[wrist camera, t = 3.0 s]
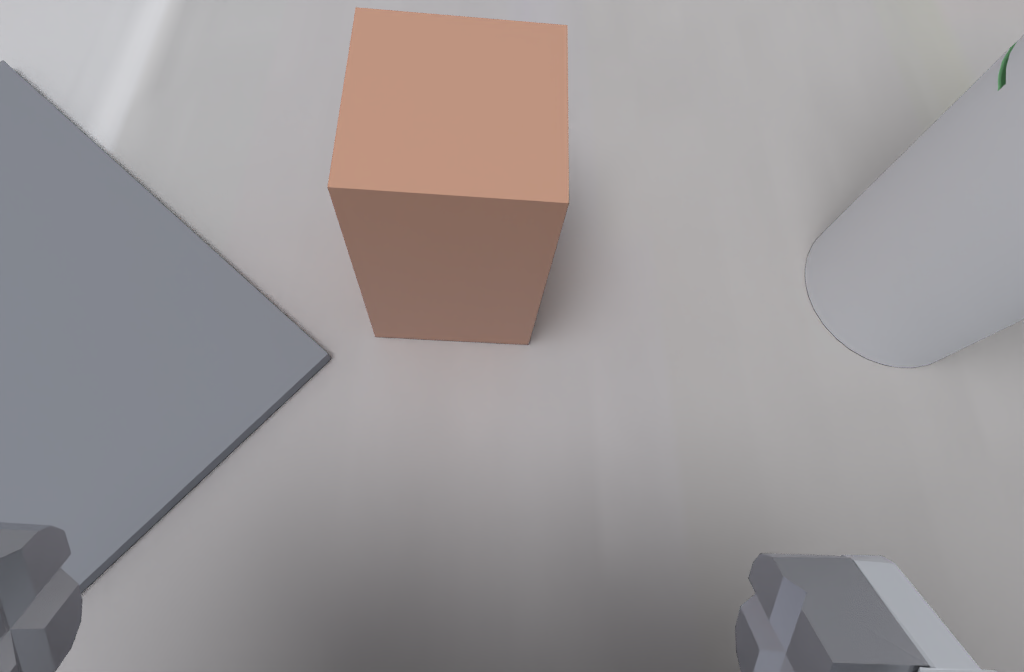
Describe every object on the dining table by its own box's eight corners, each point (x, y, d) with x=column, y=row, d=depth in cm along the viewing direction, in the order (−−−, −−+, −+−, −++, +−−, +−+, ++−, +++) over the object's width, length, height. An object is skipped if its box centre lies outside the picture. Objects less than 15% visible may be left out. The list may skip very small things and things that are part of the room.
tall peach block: (528, 344, 26) (569, 202, 16) (375, 336, 25) (327, 187, 16) (530, 214, 28) (567, 25, 18) (390, 205, 27) (355, 7, 18)
